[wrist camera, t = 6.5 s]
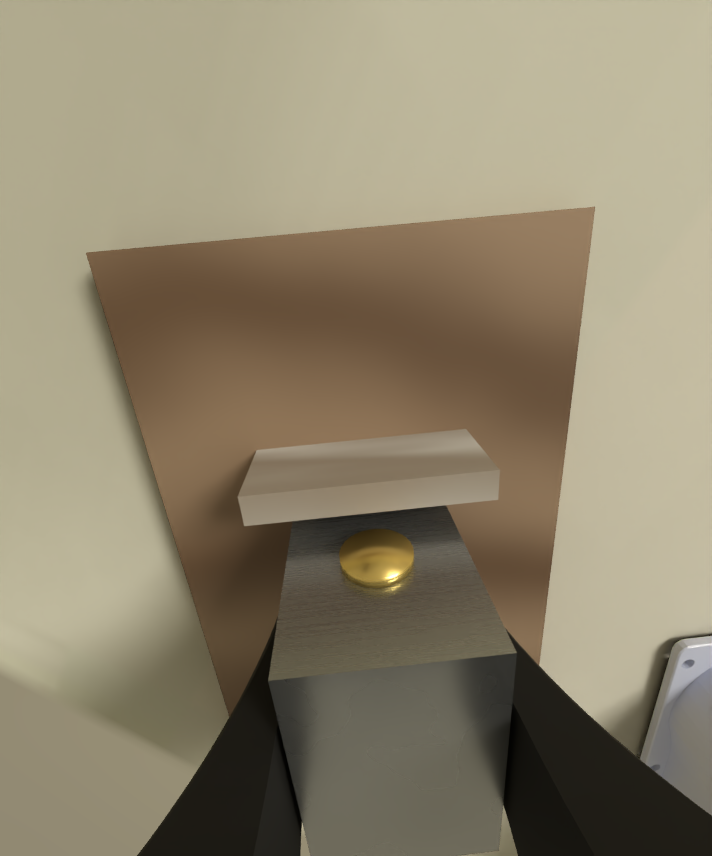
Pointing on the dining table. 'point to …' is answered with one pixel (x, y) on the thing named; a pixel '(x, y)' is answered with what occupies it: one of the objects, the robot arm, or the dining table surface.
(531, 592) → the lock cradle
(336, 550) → the block
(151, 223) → the dining table surface
